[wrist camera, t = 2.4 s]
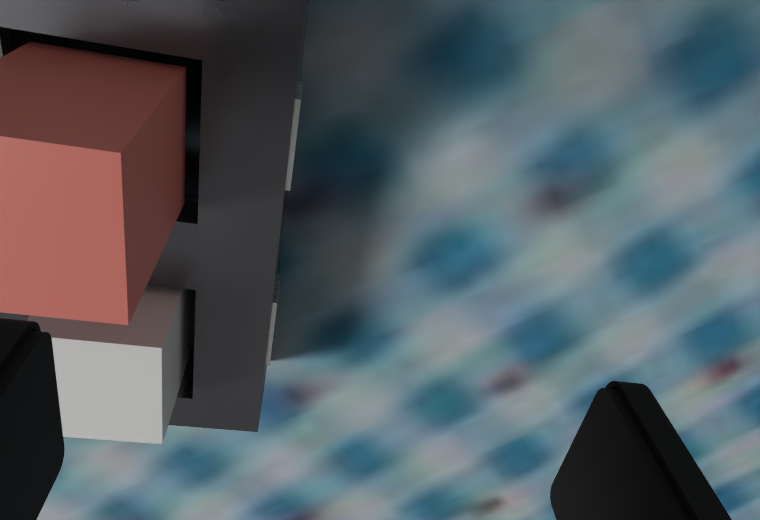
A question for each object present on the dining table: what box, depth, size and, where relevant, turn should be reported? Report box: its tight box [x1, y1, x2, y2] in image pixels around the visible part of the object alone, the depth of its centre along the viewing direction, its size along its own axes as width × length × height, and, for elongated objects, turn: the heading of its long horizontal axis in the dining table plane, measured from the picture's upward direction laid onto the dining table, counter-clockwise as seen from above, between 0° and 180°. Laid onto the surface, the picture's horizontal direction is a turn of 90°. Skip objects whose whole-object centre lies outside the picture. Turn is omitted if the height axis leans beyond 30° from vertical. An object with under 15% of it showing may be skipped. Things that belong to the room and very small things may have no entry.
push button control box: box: [0, 0, 309, 432], centre depth 18 cm, size 27×10×4 cm, turn 169°
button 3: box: [26, 285, 196, 444], centre depth 21 cm, size 4×4×6 cm
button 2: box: [0, 42, 186, 325], centre depth 15 cm, size 4×4×6 cm
